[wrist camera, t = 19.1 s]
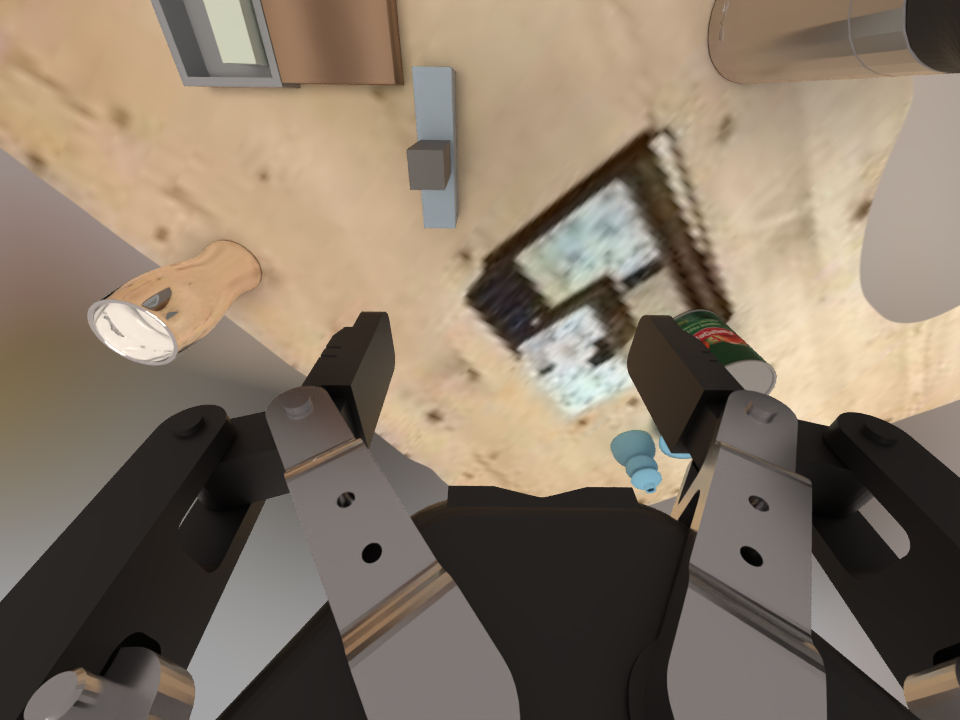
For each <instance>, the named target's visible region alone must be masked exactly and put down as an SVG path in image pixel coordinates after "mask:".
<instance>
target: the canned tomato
mask: <svg viewBox="0 0 960 720" xmlns="http://www.w3.org/2000/svg"><path fill="white" fill-rule="evenodd" d="M674 320H675V321H676V322H677V324H678V325H679V326H680V327H681V328H682V329H683V331H686V332H688V333H690V334H691V335H693V336H694V337H696V338H698V339H699V340H701V341H702V342H703V343H704V344H705V346H706V347H707V348H708V349H709V350H710V351H711V352H710V353H713V354H714V356H715V357H716V358H717V359H718V362H721V363H722V364H723V366H724V367H725V368H726V369H727V370H728V371H729V372H730V373H731V375H732V376H733V377H734V378H735V379H736V380H737V381H738V382H739V383H740V385H741V386H742V387H743V388H744V389H745V390H750V391H756V392H760V393H763V394H766V395H769V394H770V392H771V391H772V389H773V388H774V386H775V383H776V378H777V376H776V372H775V370H774V368H773V367H772V366H771V365H769V364H768V363H767V362H766V361H765V360H764V359H763V358H762V357H761V356H759V355H758V354H757V353H756V352H755V351H754V350H753V349H752V348H751V347H750V346H749V345H748V344H747V343H746V342H745V341H744V340H742V339H741V338H740V337H739V336H738V335H737V334H736V333H735V332H734V331H733V330H732V329H731V328H730V327H729V326H728V325H726V323H725V322H723V321H722V320H721V319H720V318H719V317H718V315H716V314H715V313H714V312H711V311H709V310H704V309H697V310H691V311H688V312H685V313H682V314H680V315H678V316H677V317H675V318H674Z"/></svg>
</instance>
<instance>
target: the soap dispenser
mask: <svg viewBox="0 0 960 720" xmlns="http://www.w3.org/2000/svg"><path fill="white" fill-rule="evenodd" d="M659 447H660V449H661V451H662V452H663V453H664V454H666V455H668V456H670V457H673V458H679V459H689V458H692V457H691V455H690V454H674V453H671V452H670V451H669V449H668V447H667V445H666V443H665V441H664V439H663V437H662V435H661V437H660V439H659ZM611 450H612V453H613V455H614V457H615V459H616V460H617V461H618V462H619V463H620V464H621V465H623V466H625V467H626V473H627V474H628V476H629V477H630V478H632V479H631V483H632V484H633V486H634V487H635V488H637V489H641V490H646V492H647V493H654V492H655V491H656V488H655V487H657V486H658V485H659V484H660V482H661V480H662V478H661V474H660V473H659V472H658V471H657V470H658V466H657V463H656V461H655V460H654V459H653V458H654V456H655V445H654V442H653V440H652V438H651V436H650V435H649V434H648V433H646V432H644V431H640V430H632V431H627V432H624V433H621V434H620V435H618V436H617V437H615V438H614V439H613V441H612V442H611Z"/></svg>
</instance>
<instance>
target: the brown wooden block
mask: <svg viewBox="0 0 960 720" xmlns="http://www.w3.org/2000/svg"><path fill="white" fill-rule="evenodd" d="M261 2H262V6H263V10H264V14H265V18H266V21H267V25H268V29H269V33H270V37H271V41H272V45H273V49H274V53H275V56H276V60H277V64H278V68H279V72H280V76H281V80H282V82H283V83H297V84H350V85H404V81H403V71H402V60H401V50H400V39H399V28H398V18H397V7H396V0H261Z"/></svg>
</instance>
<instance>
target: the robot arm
mask: <svg viewBox="0 0 960 720" xmlns="http://www.w3.org/2000/svg"><path fill="white" fill-rule="evenodd" d="M708 43H709V50H710V56H711V59H712V61H713V64H714V66H715V68H716V69H717V70H718V72H719V73H720V74H721V75H722V76H723V77H725V78H726V79H728V80H729V81H733V82H736V83H767V82H793V81H814V80H834V79H855V78H876V77H894V76H909V75H930V74H949V73H960V0H716V2H715V5H714V8H713V11H712V16H711V20H710V25H709V38H708ZM710 352H711V351H710V350H709V349H708V348H707V347H706V346H705V344H704V343H703V342H702V341H701V340H699V339H698V338H696V337H694V336H693V335H691V334H690V333H688V332H686V331H683V329H682V328H681V327H680V326H679V325H678V324H677V322H676V321H675V320H674V319H673V318H672V317H671V316H668V315H644V316H643V317H642V318H641V319H640V321H639V323H638V327H637V330H636V333H635V336H634V339H633V342H632V345H631V348H630V351H629V354H628V359H627V368H628V373H629V375H630V377H631V379H632V381H633V383H634V385H635V386H636V388H637V390H638V392H639V394H640V396H641V398H642V400H643V402H644V403H645V405H646V407H647V409H648V411H649V413H650V415H651V417H652V418H653V420H654V422H655V424H656V426H657V428H658V430H659V432H660V434H661V435H662V437H663V439H664V441H665V443H666V445H667V447H668V449H669V451H670V452H671V453H674V454H690V455H691V457H692V460H691V461H690V463H689V465H688V467H687V469H686V472H685V475H684V478H683V481H682V484H681V487H680V490H679V492H678V495H677V498H676V501H675V504H674V507H673V510H672V513H671V515H670V516H669V515H667V514H666V513H664V512H661V511H659V510H657V509H655V508H652V507H650V506H647V505H644V504H641V503H638V501H637V499H636V496H635V494H634V491H633V488H629V487H586V488H581V489H577V490H573V491H569V492H565V493H561V494H557V495H553V496H549V497H536V496H532V495H527V494H523V493H519V492H515V491H511V490H507V489H503V488H499V487H495V486H449V487H448V499H447V500H445V501H441V502H438V503H435V504H433V505H430V506H428V507H426V508H424V509H422V510H420V511H418V512H417V513H415V514H413V515H412V516H409V515H408V513H407V511H406V510H405V508H404V507H403V505H402V503H401V502H400V500H399V499H398V497H397V495H396V494H395V492H394V490H393V489H392V487H391V486H390V484H389V482H388V481H387V479H386V478H385V476H384V474H383V473H382V471H381V470H380V468H379V466H378V465H377V463H376V461H375V460H374V458H373V457H372V455H371V454H370V452H369V450H368V449H369V447H370V444H371V441H372V437H373V434H374V431H375V428H376V425H377V422H378V419H379V416H380V412H381V409H382V406H383V403H384V400H385V397H386V394H387V391H388V387H389V384H390V381H391V378H392V375H393V372H394V367H395V352H394V346H393V340H392V334H391V328H390V322H389V317H388V314H387V313H386V312H361V313H360V315H359V317H358V318H357V320H356V322H355V324H354V325H353V327H344V328H343V329H342V330H340V331H339V332H337V333H336V334H335V335H333V336H332V338H331V339H330V341H329V343H328V344H327V346H326V349H324V351H323V352H322V354H321V357H319V359H318V360H317V362H316V364H315V365H314V367H313V368H312V370H311V372H310V373H309V375H308V376H307V378H306V380H305V381H304V383H303V384H302V386H300V387H296V388H293V389H290V390H287V391H285V392H283V393H282V394H280V395H278V396H277V397H276V398H274V399H273V400H272V401H271V403H270V404H269V405H268V407H267V409H266V411H265V412H261V413H256V414H251V415H247V416H242V417H237V418H232V419H230V418H229V416H228V415H227V413H226V411H225V410H224V409H223V408H222V407H220V406H216V405H200V406H195V407H192V408H188V409H186V410H183V411H181V412H179V413H177V414H175V415H173V416H171V417H170V418H168V419H167V420H165V421H164V422H163V423H161V424H160V425H159V426H158V427H157V428H156V430H155V431H154V432H153V433H152V434H151V435H150V436H149V438H147V439H146V441H145V442H144V443H143V444H142V445H141V446H140V447H139V448H138V449H137V451H136V452H135V453H134V454H133V455H132V456H131V458H129V460H128V461H127V462H126V463H125V464H124V465H123V466H122V467H121V468H120V470H119V471H118V472H117V473H116V474H115V475H114V476H113V478H111V480H110V481H109V482H108V483H107V484H106V485H105V486H104V487H103V488H102V490H101V491H100V492H99V493H98V494H97V495H96V496H95V497H94V498H93V500H92V501H91V502H90V503H89V504H88V505H87V506H86V507H85V509H84V510H83V511H82V512H81V513H80V514H79V515H78V516H77V518H76V519H75V520H74V521H73V522H72V523H71V524H70V525H69V526H68V527H67V529H66V530H65V531H64V532H63V533H62V534H61V535H60V536H59V537H58V539H57V540H56V541H55V542H54V543H53V544H52V545H51V546H50V547H49V549H48V550H47V551H46V552H45V553H44V554H43V555H42V556H41V557H40V559H39V560H38V561H37V562H36V563H35V564H34V565H33V566H32V567H31V569H30V570H29V571H28V572H27V573H26V574H25V575H24V576H23V577H22V579H21V580H20V581H19V582H18V583H17V584H16V585H15V586H14V587H13V589H12V590H11V591H10V592H9V593H8V594H7V595H6V596H5V598H4V599H3V600H2V601H1V602H0V720H189V718H190V715H191V711H192V709H193V705H194V699H195V686H194V680H193V678H192V676H191V674H190V673H189V672H188V671H187V667H188V665H189V663H190V661H191V659H192V657H193V655H194V652H195V650H196V648H197V646H198V644H199V642H200V640H201V638H202V635H203V633H204V631H205V629H206V627H207V625H208V623H209V621H210V618H211V616H212V614H213V612H214V610H215V607H216V606H217V603H218V601H219V599H220V597H221V595H222V593H223V591H224V589H225V586H226V584H227V582H228V580H229V578H230V576H231V574H232V571H233V569H234V567H235V565H236V563H237V561H238V559H239V556H240V554H241V552H242V550H243V548H244V546H245V544H246V542H247V539H248V537H249V535H250V533H251V531H252V529H253V526H254V524H255V522H256V520H257V518H258V516H259V514H260V512H261V509H262V507H263V505H264V503H265V501H266V499H268V498H272V497H276V496H280V495H283V494H287V493H290V494H291V497H292V500H293V502H294V505H295V508H296V511H297V514H298V516H299V519H300V522H301V525H302V528H303V530H304V533H305V536H306V539H307V541H308V544H309V547H310V550H311V553H312V556H313V558H314V561H315V564H316V567H317V570H318V572H319V575H320V578H321V581H322V584H323V586H324V589H325V591H326V595H327V597H328V601H327V602H326V603H325V604H324V605H323V606H322V607H321V608H320V609H319V611H318V612H317V613H316V614H315V615H314V616H313V617H312V618H311V619H310V620H309V621H308V622H307V623H306V624H305V626H303V628H302V629H301V630H300V631H299V632H298V633H297V634H296V635H295V636H294V637H293V638H292V639H291V641H289V643H288V644H287V645H286V646H285V647H284V648H283V649H282V650H281V651H280V652H279V653H278V654H277V655H276V656H275V657H274V658H273V659H272V660H271V661H270V663H269V664H268V665H267V666H266V667H265V668H264V669H263V670H262V671H261V672H260V673H259V674H258V675H257V676H256V677H255V679H254V680H253V681H252V682H251V683H250V684H249V685H248V686H247V687H246V688H245V689H244V690H243V691H242V692H241V693H240V694H239V695H238V697H237V698H236V699H235V700H234V701H233V702H232V703H231V704H230V705H229V706H228V707H227V708H226V709H225V710H224V711H223V712H222V713H221V715H220V716H219V717H218V718H217V719H216V720H960V478H959V477H958V476H957V475H956V474H955V473H953V472H952V471H951V470H950V469H949V468H948V467H946V466H945V465H944V464H943V463H942V462H940V461H939V460H938V459H937V458H936V457H934V456H933V455H932V454H931V453H930V452H929V451H927V450H926V449H925V448H924V447H923V446H921V445H920V444H919V443H918V442H917V441H915V440H914V439H913V438H912V437H911V436H909V435H908V434H907V433H905V432H904V431H903V430H901V429H899V428H898V427H896V426H894V425H892V424H890V423H888V422H886V421H884V420H881V419H879V418H876V417H873V416H870V415H866V414H862V413H855V412H847V413H843V414H841V415H839V416H838V417H837V419H836V420H835V421H834V422H833V423H832V424H831V425H830V426H825V425H820V424H816V423H811V422H807V421H802V420H798V419H797V417H796V415H795V414H794V413H793V411H792V410H791V409H790V408H788V407H787V406H786V405H785V404H783V403H782V402H780V401H779V400H777V399H775V398H773V397H771V396H768V395H766V394H763V393H760V392H756V391H750V390H745V389H744V388H743V387H742V386H741V385H740V383H739V382H738V381H737V380H736V379H735V378H734V377H733V376H732V375H731V373H730V372H729V371H728V370H727V369H726V368H725V367H724V366H723V364H722V363H721V362H718V359H717V358H716V357H715V356H714V354H713V353H710ZM196 497H197V498H198V499H197V501H196V502H195V504H194V505H193V507H192V508H191V510H190V511H189V513H188V515H187V516H186V518H185V519H184V521H183V522H182V524H181V526H180V527H179V525H180V523H181V521H182V519H183V517H184V516H185V514H186V513H187V511H188V510H189V508H190V506H191V505H192V503H193V502H194V500H195V499H196ZM873 497H875V498H876V499H877V500H878V501H879V502H880V503H881V504H882V505H883V506H884V508H885V509H886V510H887V511H888V512H889V513H890V514H891V515H892V516H893V517H894V519H895V520H896V521H897V522H898V523H899V524H900V525H901V526H902V527H903V529H904V530H905V531H906V533H907V535H908V537H909V540H910V550H909V553H908V554H907V555H906V556H905V557H903V558H901V559H899V558H898V557H897V556H896V554H895V553H894V552H893V551H892V550H891V549H890V547H889V546H888V545H887V544H886V543H885V542H884V540H883V539H882V538H881V537H880V535H879V534H878V533H877V532H876V531H875V530H874V528H873V527H872V526H871V525H870V524H869V523H868V521H867V520H866V519H865V518H864V517H863V516H862V514H861V513H860V512H859V511H858V510H859V509H860V508H861V507H862V506H863V505H865V504H866V503H867V502H868V501H869V500H871V499H872V498H873ZM178 528H179V529H178ZM812 553H813V555H814V556H815V558H816V559H817V561H818V562H819V564H820V565H821V567H822V568H823V570H824V571H825V573H826V574H827V575H828V577H829V579H830V580H831V582H832V583H833V585H834V586H835V588H836V589H837V591H838V592H839V594H840V595H841V597H842V598H843V600H844V601H845V603H846V604H847V606H848V607H849V609H850V610H851V612H852V613H853V615H854V616H855V618H856V619H857V621H858V622H859V624H860V625H861V627H862V628H863V630H864V631H865V633H866V634H867V636H868V637H869V639H870V640H871V642H872V643H873V645H874V646H875V648H876V649H877V651H878V652H879V654H880V655H881V657H882V658H883V660H884V661H885V663H886V664H887V666H888V667H889V669H890V670H891V672H892V673H893V675H894V676H895V678H896V679H897V681H898V682H899V684H900V685H901V687H902V688H903V690H904V696H905V700H906V703H907V706H908V708H909V709H907V708H906V707H905V706H904V705H902V704H901V703H900V702H899V701H898V700H896V699H895V698H894V697H893V696H891V695H890V694H889V693H888V692H887V691H886V690H884V689H883V688H882V687H881V686H880V685H878V684H877V683H876V682H874V681H873V680H872V679H871V678H870V677H869V676H867V675H866V674H865V673H864V672H863V671H861V670H860V669H859V668H858V667H857V666H855V665H854V664H853V663H852V662H851V661H849V660H848V659H847V658H846V657H844V656H843V655H842V654H841V653H840V652H838V651H837V650H836V649H835V648H834V647H832V646H831V645H830V644H829V643H827V642H826V641H825V640H824V639H823V638H821V637H820V636H819V635H818V634H817V633H815V632H814V631H813V630H812V629H811V570H812V559H811V557H812Z"/></svg>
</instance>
